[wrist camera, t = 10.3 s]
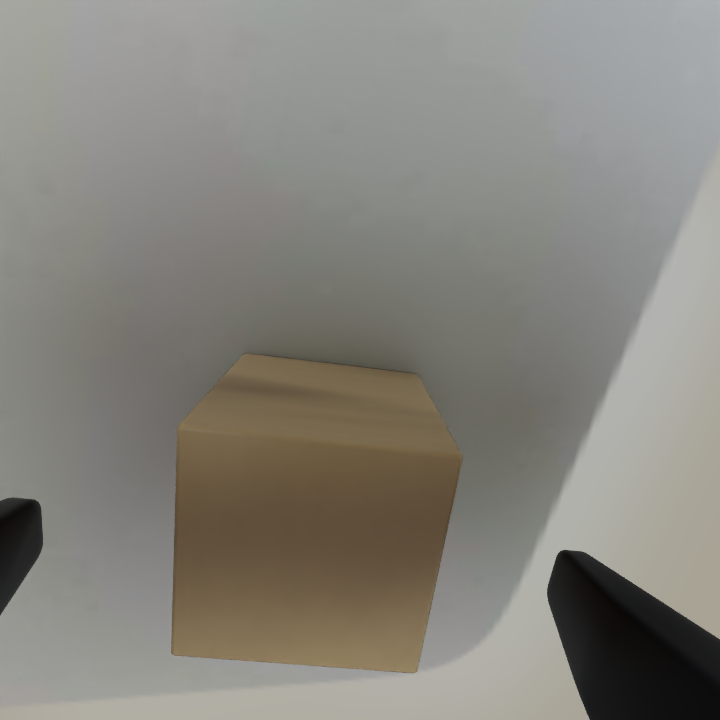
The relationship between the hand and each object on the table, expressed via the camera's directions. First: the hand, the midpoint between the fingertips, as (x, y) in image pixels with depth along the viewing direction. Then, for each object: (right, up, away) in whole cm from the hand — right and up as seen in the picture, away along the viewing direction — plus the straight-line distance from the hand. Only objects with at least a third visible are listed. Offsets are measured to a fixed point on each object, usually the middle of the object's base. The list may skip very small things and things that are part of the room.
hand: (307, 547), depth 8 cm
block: (0, +1, +4) cm, 4 cm away
